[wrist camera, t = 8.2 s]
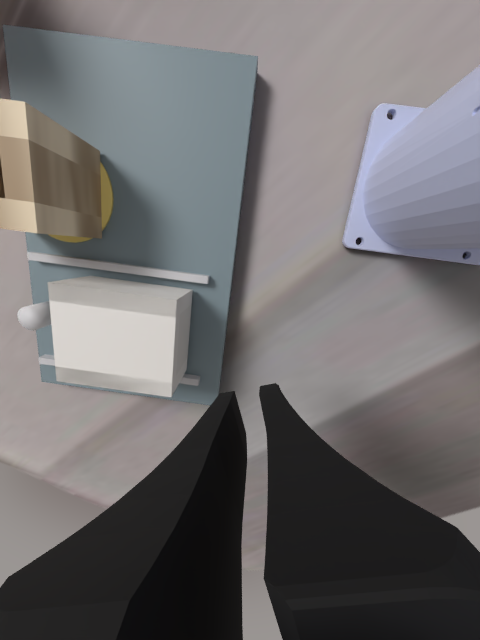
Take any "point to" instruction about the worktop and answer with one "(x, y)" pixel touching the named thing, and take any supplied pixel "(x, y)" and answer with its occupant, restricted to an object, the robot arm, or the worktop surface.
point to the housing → (120, 334)
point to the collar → (46, 176)
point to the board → (145, 176)
